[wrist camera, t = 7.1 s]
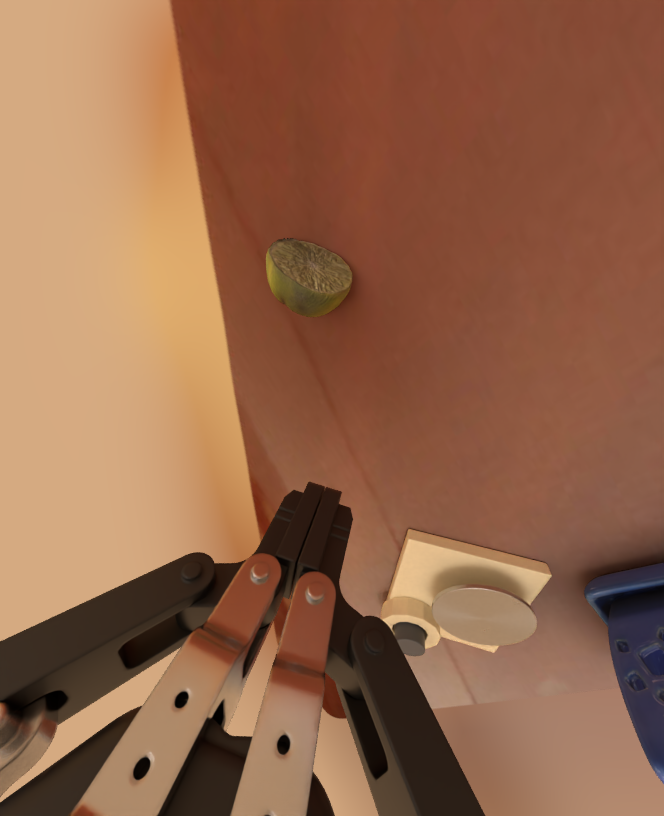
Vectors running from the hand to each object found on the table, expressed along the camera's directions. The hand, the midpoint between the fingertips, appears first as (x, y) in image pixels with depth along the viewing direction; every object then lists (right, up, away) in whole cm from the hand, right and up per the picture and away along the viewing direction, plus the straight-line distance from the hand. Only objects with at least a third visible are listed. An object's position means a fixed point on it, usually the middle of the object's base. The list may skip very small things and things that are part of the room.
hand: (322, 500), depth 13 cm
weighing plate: (+14, -14, +13) cm, 24 cm away
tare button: (+9, -19, +18) cm, 27 cm away
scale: (+13, -15, +17) cm, 26 cm away
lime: (0, +13, +7) cm, 15 cm away
